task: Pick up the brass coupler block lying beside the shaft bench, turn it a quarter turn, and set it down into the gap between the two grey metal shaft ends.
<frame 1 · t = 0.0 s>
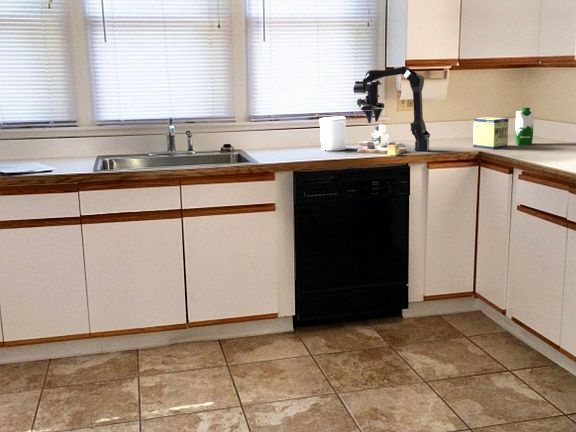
hand: (373, 122, 375), 15 cm above the counter, fingers open, 9 cm apart
milk carton: (523, 144, 373), on the counter
utensil holder: (333, 149, 384), on the counter
coupler: (393, 155, 352), on the counter
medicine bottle: (380, 146, 391), on the counter
shaft bench: (381, 151, 365), on the counter
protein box: (490, 147, 367), on the counter
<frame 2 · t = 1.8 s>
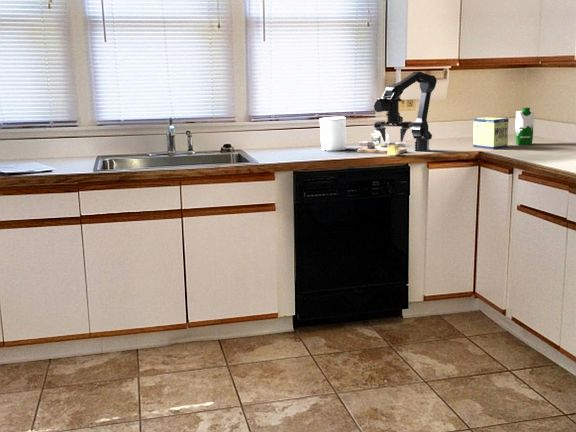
hand: (393, 141, 351), 7 cm above the counter, fingers open, 9 cm apart
nothing on the counter moved.
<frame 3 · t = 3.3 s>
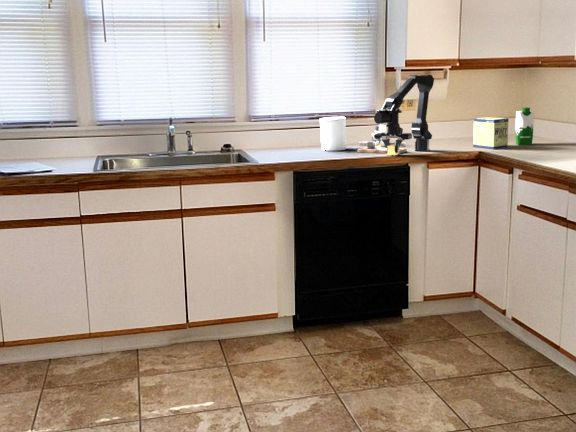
hand: (393, 152, 352), 1 cm above the counter, fingers closed on coupler, 4 cm apart
coupler: (393, 154, 352), on the counter, touching gripper
everything else where it was.
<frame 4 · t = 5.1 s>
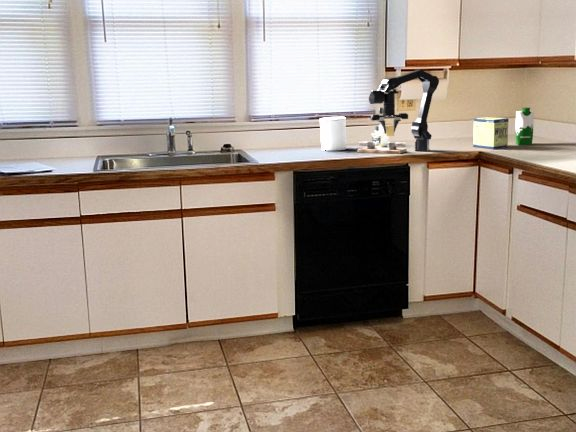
hand: (389, 133, 354), 11 cm above the counter, fingers closed on coupler, 4 cm apart
coupler: (389, 135, 354), point 10 cm above the counter, touching gripper
everything else where it was.
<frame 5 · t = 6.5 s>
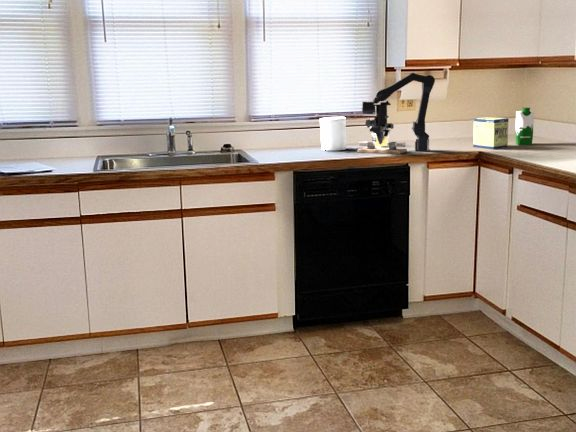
hand: (381, 143, 364), 4 cm above the counter, fingers closed on coupler, 4 cm apart
coupler: (382, 145, 364), point 3 cm above the counter, touching gripper
everything else where it was.
when the fingers open (4 cm above the counter, at t = 7.2 s): coupler drops 1 cm, resting on shaft bench.
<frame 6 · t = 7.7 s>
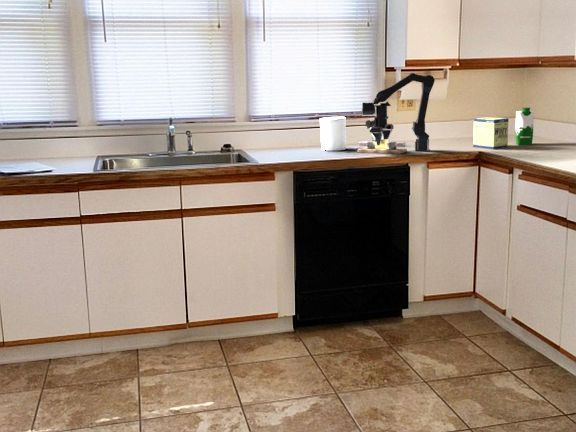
hand: (381, 144, 364), 4 cm above the counter, fingers open, 9 cm apart
coupler: (382, 148, 365), point 2 cm above the counter, touching shaft bench
everything else where it was.
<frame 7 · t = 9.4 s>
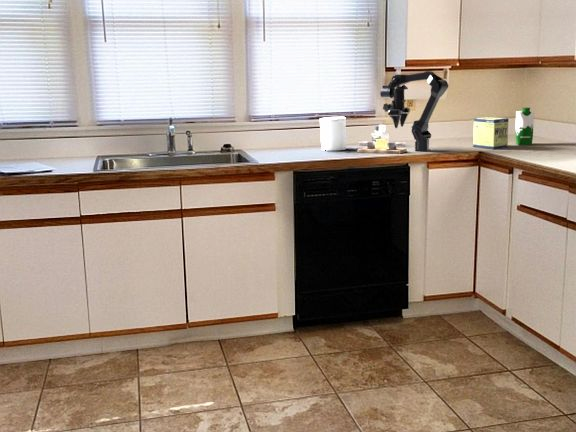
hand: (399, 127, 371), 12 cm above the counter, fingers open, 9 cm apart
nothing on the counter moved.
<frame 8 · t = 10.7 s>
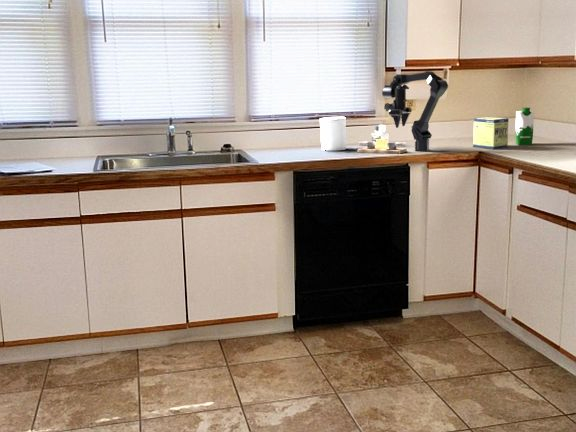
hand: (400, 126, 372), 12 cm above the counter, fingers open, 9 cm apart
nothing on the counter moved.
at the end: coupler 0.1 cm off-centre on the shaft bench, point 1.7 cm above the shaft bench's base; coupler tilted 0°; the gripper is holding nothing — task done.
